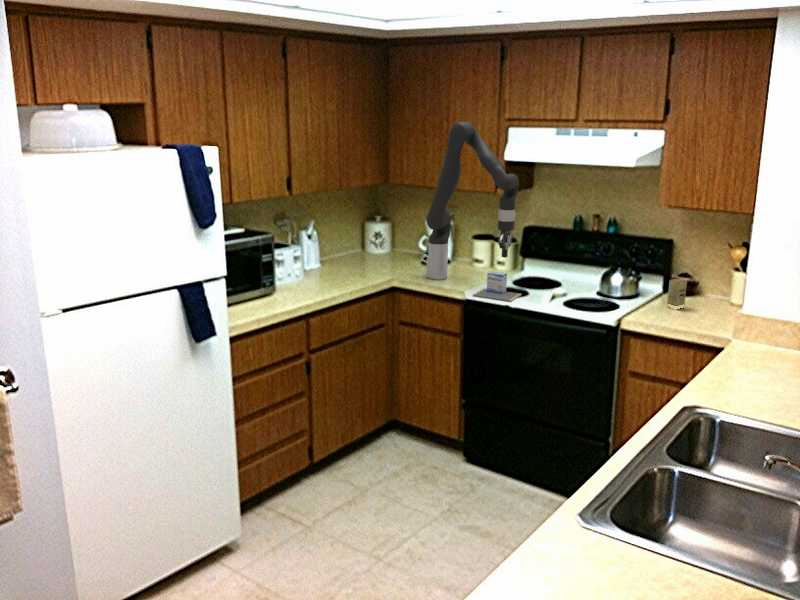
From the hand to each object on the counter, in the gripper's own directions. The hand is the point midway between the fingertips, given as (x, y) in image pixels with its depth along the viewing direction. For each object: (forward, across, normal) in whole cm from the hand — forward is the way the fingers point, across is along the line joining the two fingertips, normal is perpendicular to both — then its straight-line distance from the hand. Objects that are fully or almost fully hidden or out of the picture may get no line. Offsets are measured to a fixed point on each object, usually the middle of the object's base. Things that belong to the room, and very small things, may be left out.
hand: (504, 257), depth 342 cm
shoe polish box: (+15, -10, +74) cm, 76 cm away
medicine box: (+15, +8, 0) cm, 17 cm away
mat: (+15, +12, +2) cm, 19 cm away
